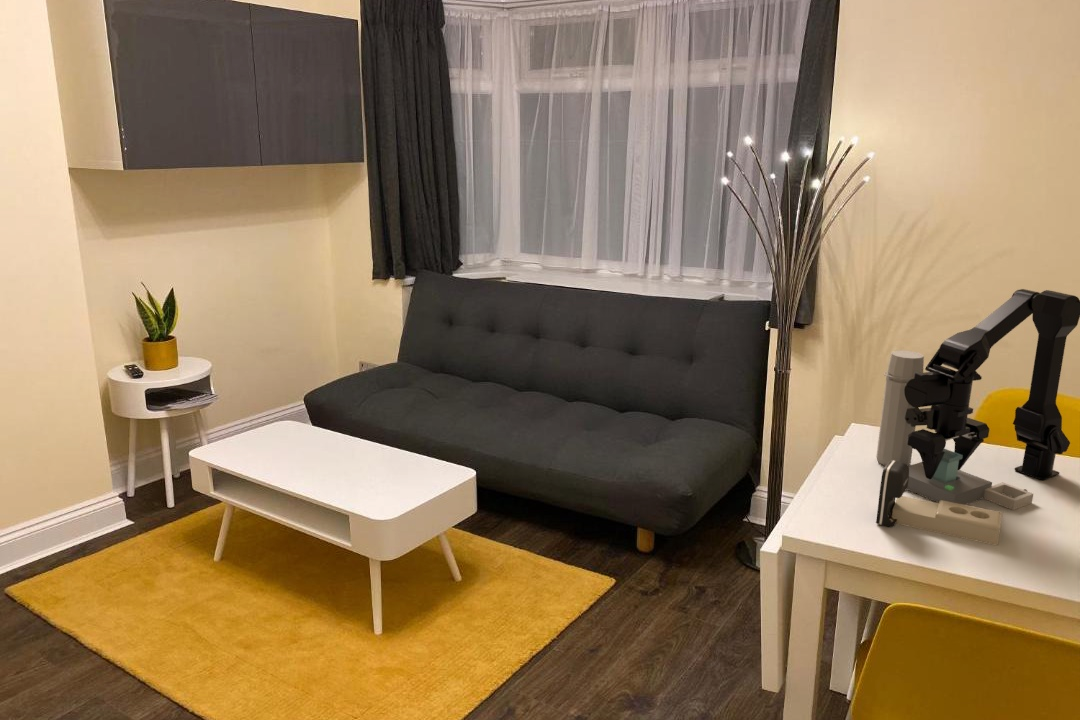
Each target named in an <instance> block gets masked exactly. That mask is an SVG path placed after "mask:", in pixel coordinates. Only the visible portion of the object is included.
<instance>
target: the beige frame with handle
mask: <svg viewBox="0 0 1080 720" xmlns="http://www.w3.org/2000/svg"><path fill="white" fill-rule="evenodd" d="M983 499H984V500H987V501H990V502H991V503H994V504H997V505H1000V506H1002V507H1005V508H1007V509H1010V510H1013V511H1014V510H1017V509H1020V508H1023V507H1025V506H1028V505H1031V504H1032V503H1033V499H1034V493H1032V492H1030V491H1028V490H1027V489H1022V488H1019V487H1016V486H1013V485H1011V484H1009V483H1006V482H1000V483H997V484H994V485H992V487H990V488H987V489H985V492H984V498H983Z"/></svg>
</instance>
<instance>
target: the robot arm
mask: <svg viewBox="0 0 1080 720" xmlns="http://www.w3.org/2000/svg"><path fill="white" fill-rule="evenodd" d="M1031 315H1032V318H1031V319H1032V322H1033V324H1034V327H1035V329H1036V331H1037V334H1038V336H1037V343H1036V350H1035V356H1034V363H1033V368H1032V374H1031V375H1032V376H1031V382H1030V389H1029V395H1028V399H1027V401H1026V402H1025V403H1023V404H1022V406H1017V407H1016V408H1015V411H1014V412H1015V413H1014V414H1015V415H1014V420H1013V423H1012V425H1014V431H1015V435H1016V440H1017V442H1021V443H1023V444H1025V447H1024V453H1023V458H1022V459H1023V460H1022V464H1021V465H1019V466H1017V467H1014V471H1015V472H1019V473H1021V474H1024V475H1027V476H1029V477H1033V478H1035V479H1037V480H1038V479H1039V480H1040V481H1045V480H1049V479H1051V478H1054V477H1057V476H1059V475H1060V472H1059V471H1057V470H1054V465H1055V459H1056V454H1057V455H1063V453H1066V452H1067V451H1068V449H1069V447H1070V444H1071V441H1070V440H1069V439H1068V437H1067V436H1066V434H1065V433H1064V432H1063V430H1062V429H1063V428H1062V425H1063V416H1062V414H1061V412H1060V409H1059V407H1058V405H1057V398H1058V397H1057V396H1058V390H1059V384H1060V380H1061V374H1062V373H1061V372H1062V367H1063V361H1064V360H1063V359H1064V355H1065V350H1066V349H1065V347H1066V342H1067V337H1068V336H1069V334H1070V333H1071V332H1073V331H1074V329H1075V328H1077V326H1078V324H1079V320H1080V298H1079V296H1076V295H1072V294H1068V293H1064V292H1059V291H1054V290H1051V289H1050V290H1049V289H1048V290H1047V289H1046V290H1042V292H1039V291H1034V290H1029V289H1025V288H1020V289H1017V290H1015V291H1014V292H1013V293H1012V295H1011V297H1010V298H1009V299H1008V300H1006V301H1005V302H1004V303H1002V304H1001V305H1000V306H999V307H997V308H996V309H995V310H994V311H993V312H991V313H990V314H988V315H987V317H985V318H984V319H982V321H980V322H979V323H978V324H977V325H975V326H974V327H972V328H970V329H968V330H963V331H960V332H957V333H955V334H953V335H951V336H950V337H948V338H946V339H945V340H943V342H942V343H941V344H940V345H939V348H938V349H937V351H936V352H935V354H934V355H933V357H931V359H930V361H929V362H928V364H927V365H926V366H925V368H924V369H925V371H926V372H925V371H923V372H916V373H915V376H914V379H911V380H909V381H908V383H907V385H906V386H905V389H904V393H905V398H906V400H907V402H908V403H909V404H910V405H911V406H912V407H916V408H908V409H907V411H906V415H905V420H906V422H907V423H908V424H911V427H915V426H916V427H918V426H926V429H925V428H922V429H918V430H915V431H914V432H912V433H910V434H909V435H908V438H907V445H909V446H911V447H912V448H913V449H914V450H916V451H917V452H918V454H919V456H920V459H921V462H922V463H923V467H924V471H925V475H926V478H928V479H932V477H933V476H934V474H935V472H936V470H937V468H938V466H939V464H940V462H941V460H942V457H943V455H944V453H945V452H944V451H943V449H946V448H945V447H946V444H947V441H951V440H953V442H954V451H953V452H955V453H958V454H961V455H963V457H962V459H960V460H959V463H958V470H961V469H962V468H963V466H964V465H965V464H966V462H967V461H968V460H969V458H970V457H971V456H972V455H973V454H974V453H975V451H976V450H977V448H978V447H979V446H981V444H982V443H984V441H985V440H984V439H987V438H988V437H989V434H990V427H989V426H988V424H987V423H985V422H982V421H979V420H977V419H973V418H971V417H968V415H972V414H973V413H974V408H973V407H970V401H971V394H972V388H973V381H981V380H982V379H983V376H982V375H980V373H978V372H977V370H978V369H979V368H980V367H981V366H982V364H984V363H985V362H986V361H987V359H989V355H990V353H991V349H992V348H993V347H994V345H995V344H997V343H998V342H999V341H1001V340H1002V339H1003V338H1004V337H1005V336H1007V335H1008V334H1009V333H1011V331H1013V330H1014V329H1015V328H1017V327H1018V326H1019V325H1020V324H1021V323H1022V322H1024V321H1025V320H1027V319H1028V318H1029V317H1030V316H1031ZM943 365H944V366H943ZM945 366H947V367H945ZM951 368H952V369H951ZM924 407H925V408H924ZM926 407H927V408H926ZM916 427H915V428H916ZM927 429H928V430H927ZM929 430H931V431H929ZM933 430H934V432H932V431H933ZM913 449H912V450H913Z"/></svg>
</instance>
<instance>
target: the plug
mask: <svg viewBox="0 0 1080 720" xmlns="http://www.w3.org/2000/svg"><path fill="white" fill-rule="evenodd" d="M943 451H944V452H945V453H944V455H943V457H942V460H941V462H940V464H939V466H938V468H937V470H936V472H935V474H934V476H933V477H932V478H934V479H937V480H940V481H942V482H945V483H948V482H951V481H954V480H956V476H957V470H958V463H959V460H960V459H962V457H963V455H961V454H958V453H955V452H954V451H951V450H949V449H947V448H944V449H943Z"/></svg>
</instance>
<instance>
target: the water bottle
mask: <svg viewBox="0 0 1080 720" xmlns="http://www.w3.org/2000/svg"><path fill="white" fill-rule="evenodd" d="M924 358H925V356H924V355H923V354H922V353H920V352H918V351H912V350H902V349H901V350H893V351H891V353H890V356H889V360H888V365H887V368H886V369H887V370H886V372H884V373H883V375H884V377H885V386H884V391H883V392H884V393H883V399H882V400H883V402H882V409H881V416H880V417H881V418H880V424H879V432H878V433H879V434H878V441H877V450H876V455H875V457H876V460H877V462H878V463H879V464H881V465H883V466H884V465H885V466H886V465H887V463H888V462H889V461H893V460H894V461H896V462H901V463H905V464H906V465H908V466H910V464H911V463H912V456H913V448H912V447H911V446H909V445H907V438H908V435H909V434H910V433H912V432H914V431H916V427H917V426H915V427H911V424H908V423H907V422H906V420H905V415H906V411H907V409H908V408H916V407H912V406H911V405H910V404H909V403H908V402H907V400H906V398H905V393H904V389H905V386H906V385H907V383H908V381H909V380H911V379H914V376H915V373H916V372H923V373H924V367H925V366H924V364H925V363H924V360H925V359H924ZM885 466H884V467H885Z"/></svg>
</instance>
